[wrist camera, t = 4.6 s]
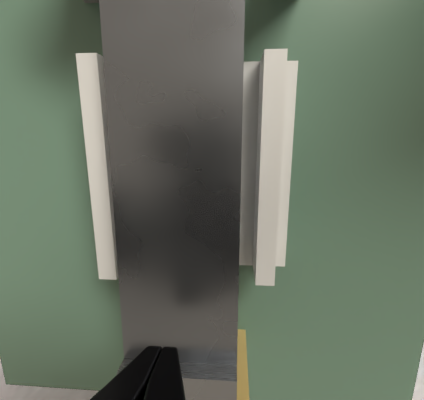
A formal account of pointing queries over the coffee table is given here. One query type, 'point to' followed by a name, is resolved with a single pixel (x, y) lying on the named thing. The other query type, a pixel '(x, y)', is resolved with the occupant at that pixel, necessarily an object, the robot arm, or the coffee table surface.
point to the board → (249, 208)
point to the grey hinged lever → (177, 180)
